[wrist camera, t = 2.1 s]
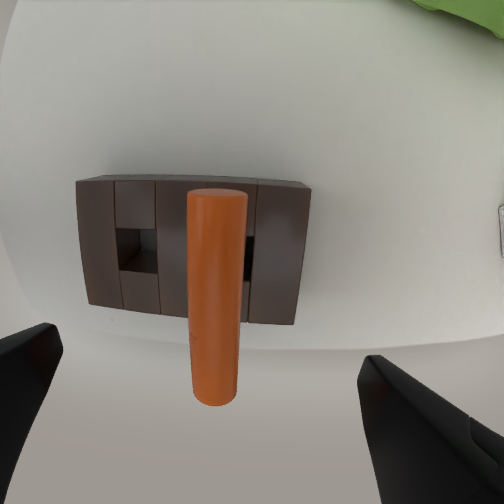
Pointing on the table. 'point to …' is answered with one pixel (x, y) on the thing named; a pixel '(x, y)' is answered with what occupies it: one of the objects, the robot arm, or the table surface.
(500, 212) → the ink box
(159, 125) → the table surface
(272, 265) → the tool rack
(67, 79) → the table surface
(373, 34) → the table surface
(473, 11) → the light green square pot
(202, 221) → the t handle
